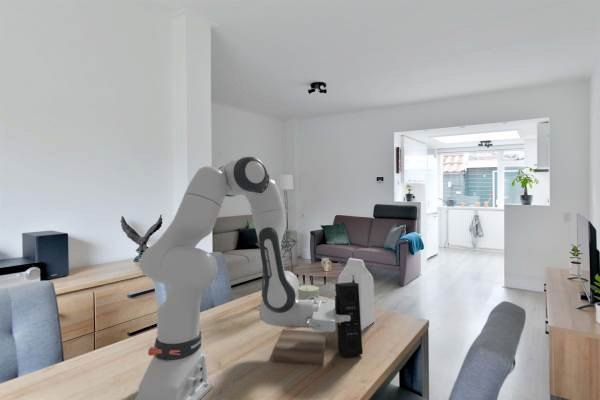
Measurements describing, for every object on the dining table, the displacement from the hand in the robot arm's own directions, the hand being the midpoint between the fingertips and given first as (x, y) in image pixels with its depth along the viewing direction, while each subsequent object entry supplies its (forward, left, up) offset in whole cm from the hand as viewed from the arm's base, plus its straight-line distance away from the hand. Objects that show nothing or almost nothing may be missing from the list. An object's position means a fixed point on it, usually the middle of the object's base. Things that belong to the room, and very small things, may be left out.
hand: (350, 315), depth 113 cm
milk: (+28, -3, -13) cm, 31 cm away
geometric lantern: (+46, +33, -13) cm, 58 cm away
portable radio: (0, 0, -13) cm, 13 cm away
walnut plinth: (+1, +16, -13) cm, 21 cm away
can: (+35, +17, -13) cm, 41 cm away
